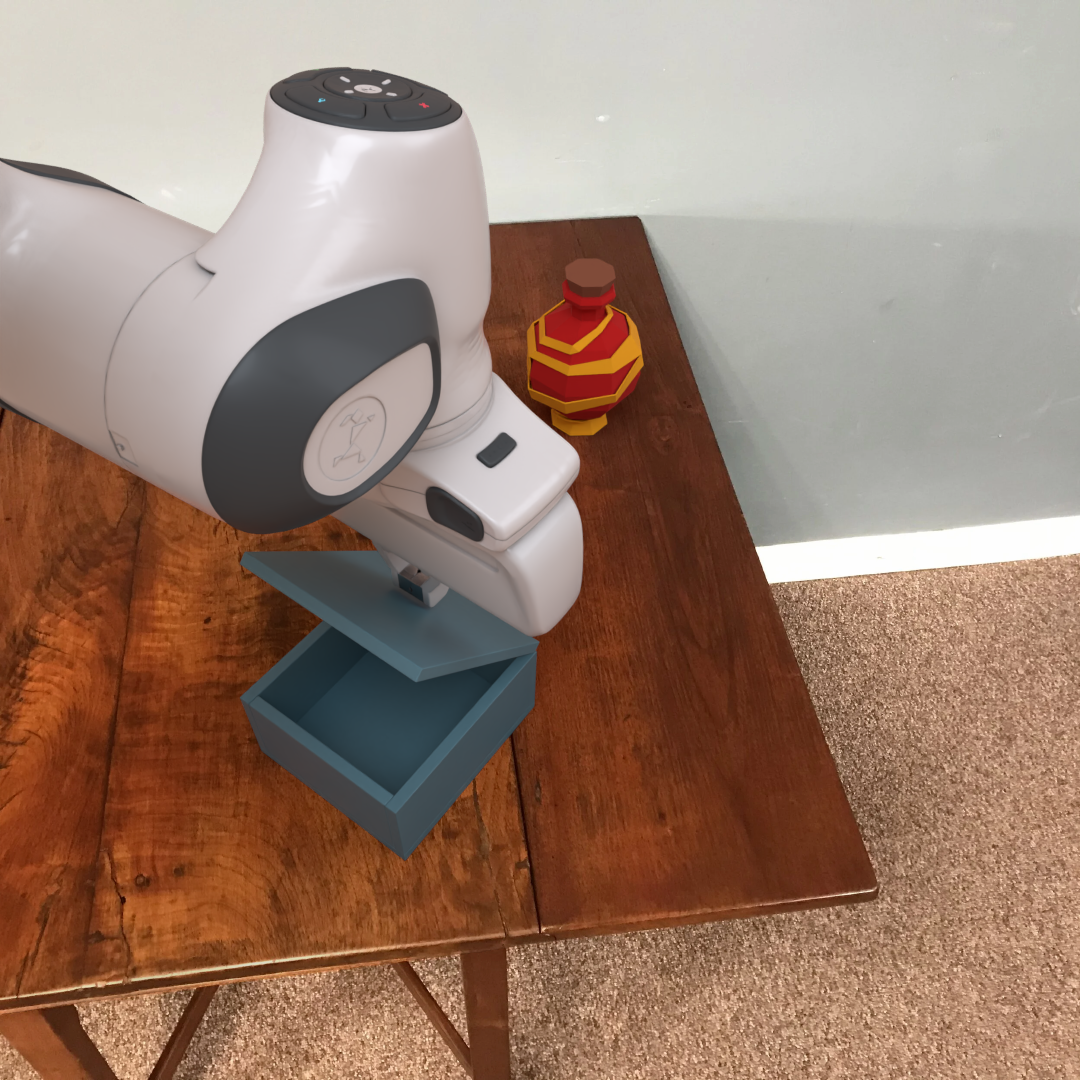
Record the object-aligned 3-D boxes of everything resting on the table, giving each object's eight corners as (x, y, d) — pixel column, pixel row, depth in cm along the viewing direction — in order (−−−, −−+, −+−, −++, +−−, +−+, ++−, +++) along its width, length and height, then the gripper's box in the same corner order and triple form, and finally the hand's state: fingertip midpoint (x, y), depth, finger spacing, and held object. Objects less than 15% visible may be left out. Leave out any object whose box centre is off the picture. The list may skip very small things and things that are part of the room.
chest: (405, 861, 58) (395, 813, 53) (261, 750, 62) (239, 697, 57) (534, 706, 65) (537, 651, 60) (397, 617, 70) (388, 559, 64)
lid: (415, 682, 46) (422, 668, 46) (239, 564, 51) (244, 551, 51) (534, 652, 60) (540, 641, 59) (385, 560, 64) (390, 550, 64)
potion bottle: (619, 468, 80) (637, 324, 69) (505, 439, 82) (505, 294, 71) (649, 393, 87) (671, 250, 76) (544, 367, 89) (549, 224, 78)
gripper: (208, 366, 48) (260, 541, 58) (530, 550, 41) (525, 713, 51) (297, 308, 51) (332, 484, 62) (609, 468, 44) (589, 637, 55)
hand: (421, 589), depth 56 cm, fingers closed, pressing on lid
